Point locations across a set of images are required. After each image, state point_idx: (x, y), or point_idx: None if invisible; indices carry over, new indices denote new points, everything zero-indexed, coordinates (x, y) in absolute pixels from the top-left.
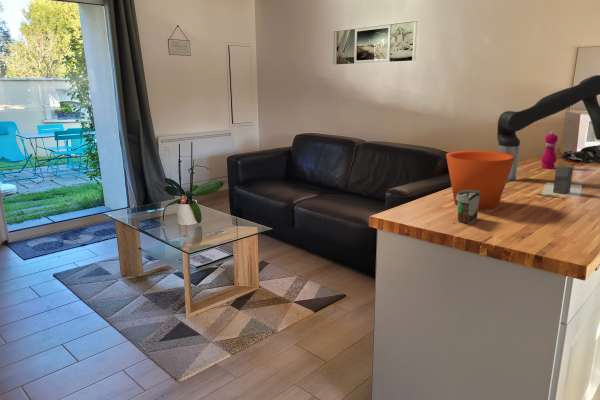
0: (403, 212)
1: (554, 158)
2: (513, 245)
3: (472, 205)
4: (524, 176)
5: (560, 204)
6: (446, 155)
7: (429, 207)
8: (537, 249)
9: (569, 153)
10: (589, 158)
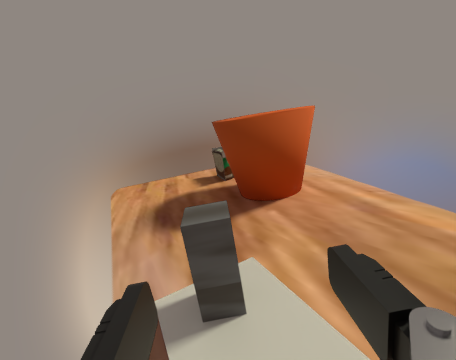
0: None
1: None
2: (166, 180)
3: (217, 160)
4: None
5: (182, 252)
6: (285, 109)
7: None
8: (149, 184)
9: (377, 300)
10: (110, 316)
